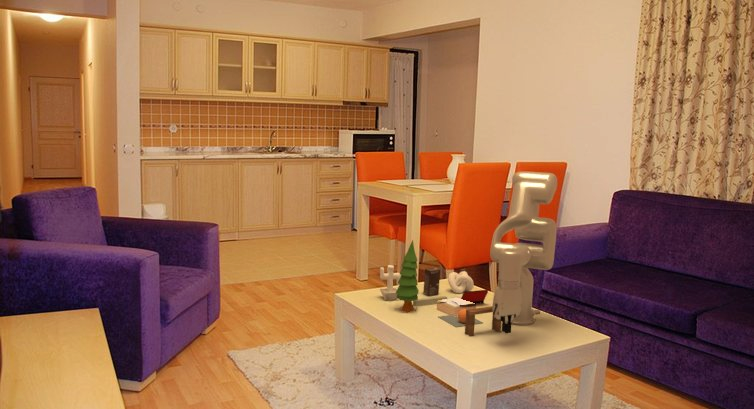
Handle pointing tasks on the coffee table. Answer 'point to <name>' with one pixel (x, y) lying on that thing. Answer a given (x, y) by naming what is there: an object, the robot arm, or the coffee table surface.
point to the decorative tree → (408, 280)
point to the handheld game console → (475, 296)
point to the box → (431, 281)
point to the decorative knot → (460, 282)
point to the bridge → (471, 320)
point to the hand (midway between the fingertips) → (506, 332)
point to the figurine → (389, 283)
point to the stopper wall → (428, 301)
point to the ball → (462, 315)
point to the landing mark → (456, 320)
